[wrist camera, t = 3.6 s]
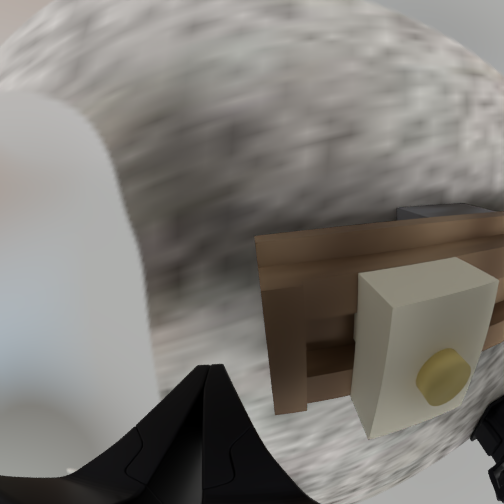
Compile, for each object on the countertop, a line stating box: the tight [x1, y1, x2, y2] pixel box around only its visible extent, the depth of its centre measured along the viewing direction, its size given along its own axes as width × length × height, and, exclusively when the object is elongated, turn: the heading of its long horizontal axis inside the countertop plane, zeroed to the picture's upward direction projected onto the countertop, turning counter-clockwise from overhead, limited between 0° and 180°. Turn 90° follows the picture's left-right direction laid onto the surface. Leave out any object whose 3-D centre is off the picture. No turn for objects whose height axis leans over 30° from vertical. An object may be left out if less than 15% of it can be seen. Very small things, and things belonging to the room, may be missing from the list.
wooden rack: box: [254, 203, 504, 415], centre depth 12 cm, size 20×7×6 cm, turn 97°
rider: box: [350, 257, 499, 440], centre depth 8 cm, size 4×5×5 cm
